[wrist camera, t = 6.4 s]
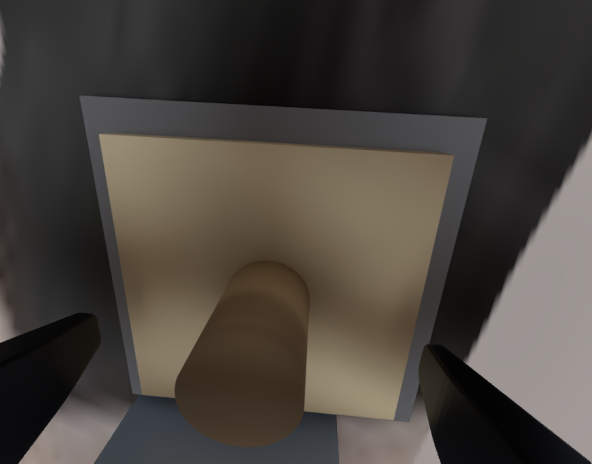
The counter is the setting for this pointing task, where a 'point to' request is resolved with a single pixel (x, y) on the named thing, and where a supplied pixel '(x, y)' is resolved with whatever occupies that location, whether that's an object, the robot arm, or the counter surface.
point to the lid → (272, 275)
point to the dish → (211, 440)
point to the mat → (296, 130)
